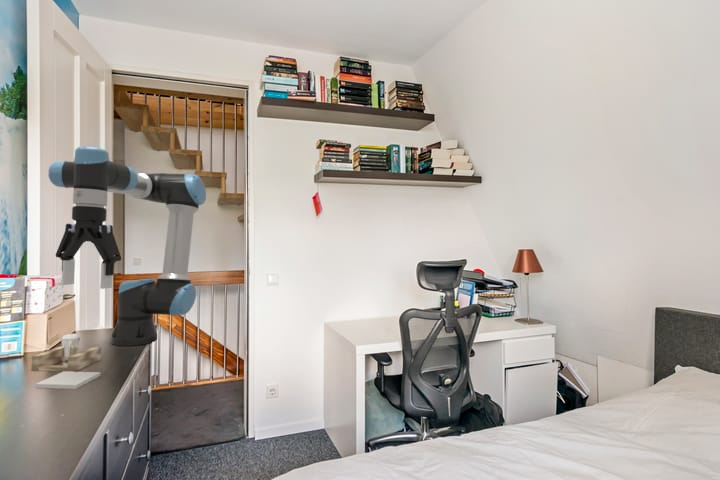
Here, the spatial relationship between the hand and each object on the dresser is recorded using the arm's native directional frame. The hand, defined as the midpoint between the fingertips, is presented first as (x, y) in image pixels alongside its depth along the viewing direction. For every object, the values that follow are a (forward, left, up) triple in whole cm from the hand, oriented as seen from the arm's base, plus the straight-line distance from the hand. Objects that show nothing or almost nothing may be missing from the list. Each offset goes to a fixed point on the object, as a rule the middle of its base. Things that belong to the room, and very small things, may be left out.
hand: (86, 286), depth 105 cm
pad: (-1, -4, -26) cm, 26 cm away
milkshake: (-15, -14, -26) cm, 32 cm away
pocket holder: (-15, -14, -26) cm, 32 cm away
